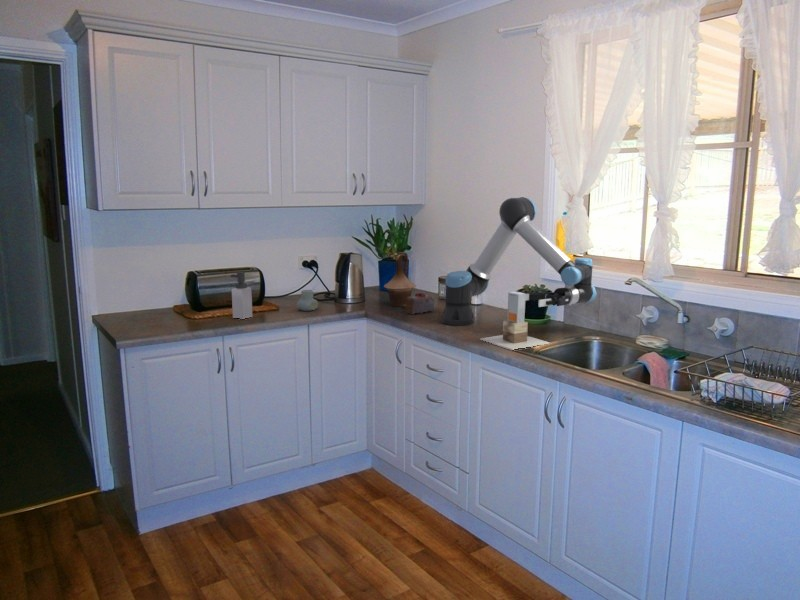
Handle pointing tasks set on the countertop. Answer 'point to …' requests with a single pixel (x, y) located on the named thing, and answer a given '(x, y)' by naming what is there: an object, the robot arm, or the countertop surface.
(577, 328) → the countertop surface
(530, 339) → the plate
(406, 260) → the brown vase
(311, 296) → the air freshener
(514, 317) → the skincare box
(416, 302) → the food item
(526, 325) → the upper block
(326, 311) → the countertop surface
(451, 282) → the robot arm
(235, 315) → the soap dispenser
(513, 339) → the lower block
